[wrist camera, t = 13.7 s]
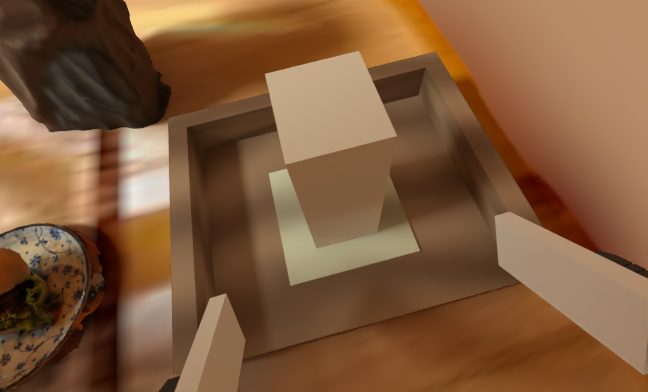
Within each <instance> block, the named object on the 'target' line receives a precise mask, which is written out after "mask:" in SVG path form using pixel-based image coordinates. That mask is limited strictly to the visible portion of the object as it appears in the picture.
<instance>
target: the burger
mask: <svg viewBox="0 0 648 392" xmlns="http://www.w3.org/2000/svg"><path fill="white" fill-rule="evenodd" d="M100 254H101V253H100V251H99V250H98V249H97V247H96V245H95V244H94V243H93V242H92V241H90V240H89V239H87V238H86V237H85V235H83V234H81V233H79V232H77V231H73V230H70V229H69V228H67V227H65V226H57V225H54V224H49V223H46V224H31V225H27V226H21V227H17V228H15V229H12V230H10V231H7V232H4V233H2V234H0V392H1V391H4V390H7V389H10V388H13V389H16V388H17V387H19V386H20V385H22V384H24V383H25V382H27V381H28V380H29V379H31V378H32V377H33V376H34V375H35V374H36V373H38V372H39V371H40V370H41V369H43V368H44V367H45V366H47V365H49V364H51V363H55V362H60V361H64V360H66V359H69V358H68V357H67V355H66V353H67V352H70V351H71V350H73V349H75V348H79V345H78V344H79V343H80V342H81V338H82V336H83V334H84V330H85V329H82V328H83V324H80V323H81V321H82V320H83V318H84V317H85V316H86V315H89V314H90V313H92V312H93V311H94V310H95V309H96V308H97V307H98V306H99V305H100V304H101V302H102V299H103V296H104V295H103V294H104V291H103V287H104V285H105V283H106V281H105V280H104V278H103V276H102V268H103V267H102V266H101V265H100V263H99V258H98V255H100ZM88 330H89V329H88Z"/></svg>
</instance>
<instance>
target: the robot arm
mask: <svg viewBox="0 0 648 392" xmlns="http://www.w3.org/2000/svg"><path fill="white" fill-rule="evenodd" d="M495 226H496V239H497V252H498V264H499V266H500V267H502V268H503V269H504V270H506V271H507V272H508V273H510V274H511V275H512V276H514V277H515V278H516V279H518V280H519V281H520V282H522V283H523V284H524V285H525V286H527V287H528V288H529V289H531V290H532V291H533V292H535V293H536V294H537V295H539V296H540V297H541V298H543V299H544V300H545V301H547V302H548V303H549V304H550V305H552V306H553V307H554V308H556V309H557V310H558V311H560V312H561V313H562V314H564V315H565V316H566V317H568V318H569V319H570V320H572V321H573V322H574V323H575V324H577V325H578V326H579V327H581V328H582V329H583V330H585V331H586V332H587V333H589V334H590V335H591V336H593V337H594V338H595V339H597V340H598V341H599V342H601V343H602V344H603V345H604V346H606V347H607V348H608V349H610V350H611V351H612V352H614V353H615V354H616V355H618V356H619V357H620V358H622V359H623V360H624V361H626V362H627V363H628V364H629V365H631V366H632V367H633V368H635V369H636V370H637V371H639V372H640V373H641V374H643V375H646V374H648V271H646V270H645V268H643V267H640V266H638V265H636V264H634V265H633V264H632V262H630V261H627V260H625V259H623V258H621V257H619V256H617V255H613V254H609V253H605V252H602V251H598V250H597V251H594V252H592V251H590V250H588V249H586V248H584V247H582V246H580V245H577V244H575V243H573V242H571V241H569V240H567V239H565V238H563V237H561V236H559V235H557V234H555V233H553V232H551V231H549V230H547V229H544V228H542V227H540V226H538V225H536V224H534V223H532V222H530V221H528V220H526V219H524V218H522V217H520V216H518V215H516V214H514V213H512V212H507V213H503V214H500V215H496V216H495ZM244 346H245V338H244V335H243V333H242V330H241V328H240V326H239V323H238V321H237V318H236V316H235V314H234V311H233V309H232V306H231V304H230V301H229V299H228V297H227V294H223V295H219V296H216V297H212V298H210V299H209V302H208V304H207V307H206V310H205V312H204V315H203V318H202V320H201V323H200V326H199V328H198V331H197V334H196V336H195V339H194V342H193V344H192V347H191V350H190V352H189V355H188V358H187V360H186V363H185V366H184V368H183V371H182V373H181V376H178V377H175V378H172V379H168V380H167V382H166V383H165V384H164V386H163V387H162V388H161V389H160V391H159V392H237V390H238V383H239V377H240V371H241V365H242V359H243V352H244Z"/></svg>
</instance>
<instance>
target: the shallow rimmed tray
mask: <svg viewBox="0 0 648 392" xmlns="http://www.w3.org/2000/svg"><path fill="white" fill-rule="evenodd" d="M367 70H368V72H369V74H370V76H371V79H372V81H373V83H374V85H375V88H376V90H377V92H378V94H379V97H380V99H381V101H382V103H383V105H384V108H385V110H386V112H387V114H388V117H389V119H390V121H391V123H392V126H393V128H394V130H395V132H396V135H397V139H396V144H395V148H394V153H393V158H392V163H391V168H390V173H389V178H388V182H387V187H386V192H385V197H384V202H383V207H382V211H381V216H380V221H379V226H378V231H377V232H376V233H373V234H369V235H365V236H361V237H358V238H354V239H350V240H346V241H343V242H339V243H335V244H331V245H328V246H324V247H320V248H316V246H315V243H314V241H313V238H312V235H311V233H310V230H309V227H308V224H307V222H306V219H305V216H304V214H303V211H302V208H301V206H300V203H299V200H298V197H297V195H296V192H295V189H294V187H293V184H292V181H291V178H290V176H289V173H288V170H287V168H286V165H285V161H284V156H283V152H282V147H281V143H280V139H279V134H278V130H277V125H276V121H275V116H274V112H273V108H272V103H271V99H270V94H269V93H267V94H263V95H259V96H255V97H251V98H247V99H243V100H239V101H235V102H231V103H227V104H223V105H219V106H215V107H211V108H207V109H203V110H198V111H194V112H190V113H186V114H182V115H178V116H174V117H170V118H168V132H169V181H170V229H171V278H172V326H173V374H180V373H182V371H183V368H184V366H185V363H186V360H187V358H188V355H189V352H190V350H191V347H192V344H193V342H194V339H195V336H196V334H197V331H198V328H199V326H200V323H201V320H202V318H203V315H204V312H205V310H206V307H207V304H208V302H209V299H210V298H212V297H216V296H219V295H223V294H227V297H228V299H229V301H230V304H231V306H232V309H233V311H234V314H235V316H236V318H237V321H238V323H239V326H240V328H241V330H242V333H243V335H244V338H245V346H244V352H243V359H247V358H251V357H254V356H258V355H261V354H265V353H269V352H272V351H276V350H280V349H283V348H287V347H290V346H294V345H298V344H301V343H305V342H308V341H312V340H316V339H319V338H323V337H327V336H330V335H334V334H337V333H341V332H345V331H348V330H352V329H355V328H359V327H363V326H366V325H370V324H373V323H377V322H381V321H384V320H388V319H392V318H395V317H399V316H402V315H406V314H410V313H413V312H417V311H420V310H424V309H428V308H431V307H435V306H439V305H442V304H446V303H449V302H453V301H457V300H460V299H464V298H467V297H471V296H475V295H478V294H482V293H485V292H489V291H493V290H496V289H500V288H504V287H507V286H511V285H514V284H518V283H522V282H520V281H519V280H518V279H516V278H515V277H514V276H512V275H511V274H510V273H508V272H507V271H506V270H504V269H503V268H502V267H500V266H499V264H498V252H497V239H496V226H495V216H496V215H500V214H503V213H507V212H512V213H514V214H516V215H518V216H520V217H522V218H524V219H526V220H528V221H530V222H532V223H534V224H536V225H538V226H540V227H542V228H544V227H543V225H542V224H541V222H540V221H539V219H538V217H537V216H536V214H535V212H534V211H533V209H532V208H531V206H530V204H529V203H528V201H527V199H526V198H525V196H524V195H523V193H522V191H521V190H520V188H519V186H518V185H517V183H516V182H515V180H514V178H513V177H512V175H511V173H510V172H509V170H508V169H507V167H506V165H505V164H504V162H503V160H502V159H501V157H500V156H499V154H498V152H497V151H496V149H495V147H494V146H493V144H492V142H491V141H490V139H489V138H488V136H487V134H486V133H485V131H484V129H483V128H482V126H481V125H480V123H479V121H478V120H477V118H476V116H475V115H474V113H473V112H472V110H471V108H470V107H469V105H468V103H467V102H466V100H465V99H464V97H463V95H462V94H461V92H460V90H459V89H458V87H457V86H456V84H455V82H454V81H453V79H452V77H451V76H450V74H449V73H448V71H447V69H446V68H445V66H444V64H443V63H442V61H441V60H440V58H439V56H438V55H437V53H436V52H432V53H428V54H424V55H420V56H416V57H412V58H408V59H404V60H400V61H396V62H392V63H388V64H384V65H380V66H376V67H372V68H368V69H367ZM243 359H242V360H243Z"/></svg>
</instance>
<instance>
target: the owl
mask: <svg viewBox="0 0 648 392" xmlns="http://www.w3.org/2000/svg"><path fill="white" fill-rule="evenodd" d="M161 76H162V74H160V73H159V72H156V71H155V70H154V68H153V66H152V61H151V60H150V56H149V54H148V52H147V50H146V47H145V46H144V44H143V42H142V41H141V40H140V39H139V38H138V37H137V36H136V35H135V33H134V30H133V27H132V25H131V22H130V14H129V11H128V8H127V5H126V3H125V2H124V1H123V0H0V80H1V81H2V82H3V83H4V84H5V85H6V86H7V87H8V88H9V89H10V90H11V91H12V93H13V94H14V95H15V96H16V97H17V98H18V99H19V100H20V101H21V102H22V103H23V105H24V107H25V108H26V109H27V110H28V112H29V113H30V116H31V117H32V118H33V119H34V120H36V121H38V122H40V123H43V124H45V126H46V127H47V128H48V130H49V132H54V131H68V130H91V129H105V130H112V129H116V128H119V127H128V128H144V127H146V126H149V125H151V124H154V123H156V122H158V121H159V120H160V119H162V118H163V117H164V115H165V111H166V107H167V106H168V102H169V97H170V95H171V88H170V86H167V85H165V84H163V83H162V82H161V81H160V80H159V79H160V77H161Z"/></svg>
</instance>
